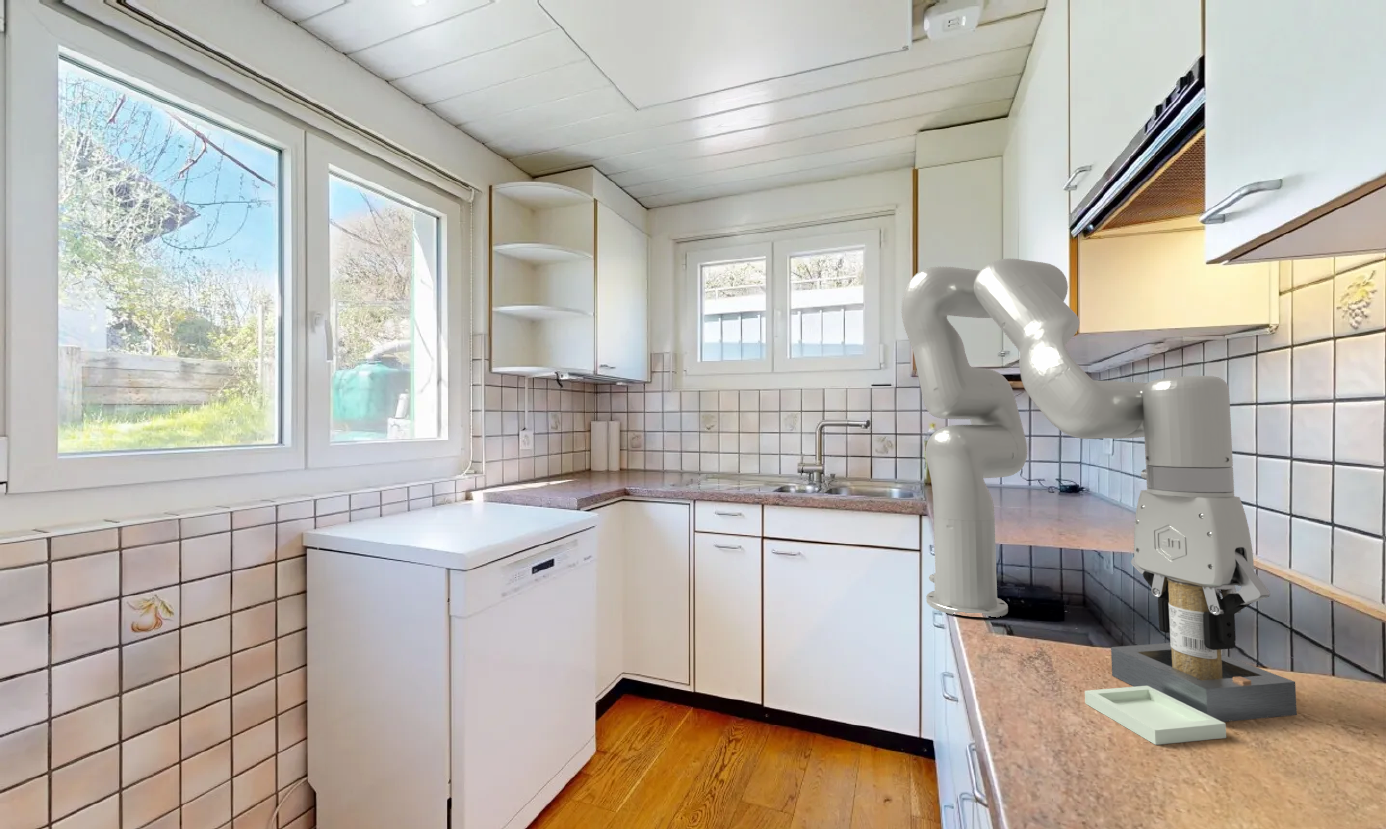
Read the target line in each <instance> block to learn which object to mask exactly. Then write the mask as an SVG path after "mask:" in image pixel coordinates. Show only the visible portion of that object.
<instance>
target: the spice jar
mask: <svg viewBox="0 0 1386 829" xmlns="http://www.w3.org/2000/svg"><path fill="white" fill-rule="evenodd" d="M1167 580H1168V588H1169V590H1168V591H1169V621H1170V633H1169V638H1170V640H1169V641H1170V642H1169V643H1170V644H1171V649H1172V667H1173V668H1175V669H1177V670H1180V671H1182V672H1184V673H1187V674H1189V675H1191V676H1194V677H1196V678H1198V679H1201V680H1214V679H1223V676H1222V659H1221V656H1222V655H1223V649H1221V650H1211V649H1209V648H1207V647H1206V646H1205V645H1204V626H1203V614H1204V612H1210V611H1209V608H1208V605H1207V601H1206V598H1205V594H1204V590H1203V587H1202V586H1199V585H1195V584H1191V583H1187V582H1183V581H1179V580H1176V579H1172V578H1167Z"/></svg>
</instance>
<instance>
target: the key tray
mask: <svg viewBox="0 0 1386 829" xmlns="http://www.w3.org/2000/svg"><path fill="white" fill-rule="evenodd" d="M1084 704H1086V705H1087V706H1089V707H1090V708H1092V709H1094V710H1096V711H1097V712H1099V713H1100V714H1102V715H1104V716H1106V717H1108V718H1109V719H1111V720H1112V721H1114V722H1116V723H1117V724H1119V725H1121V726H1123V727H1124V728H1126V729H1128V730H1130V731H1131V732H1133V733H1135V734H1136V735H1138V736H1139V737H1141V738H1143V739H1145V740H1146V741H1148V742H1151V743H1152V744H1154V745H1167V744H1168V745H1169V744H1176V743H1177V744H1178V743H1189V742H1198V741H1207V740H1208V741H1209V740H1217V739H1227V729H1226V728H1227V725H1226V723H1227V722H1221V721H1219V720H1217V719H1215V718H1213V717H1211V716H1209V715H1207V714H1205V713H1203V712H1201V711H1199V710H1197V709H1195V708H1193V707H1191V706H1188V705H1186V704H1184V703H1182V702H1180V701H1178V700H1176V699H1174V698H1172V697H1170V696H1168V695H1166V694H1164V693H1162V692H1160V691H1158V690H1156V689H1153V688H1151V687H1149V686H1136V687H1134V686H1126V687H1116V688H1115V687H1113V688H1100V689H1092V690H1091V689H1088V690H1084Z"/></svg>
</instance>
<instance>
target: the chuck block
mask: <svg viewBox="0 0 1386 829" xmlns="http://www.w3.org/2000/svg"><path fill="white" fill-rule="evenodd" d="M1110 655H1111V657H1110V658H1111V660H1110V661H1111V676H1112V677H1114V678H1116V679H1118V680H1120V681H1122V682H1124V683H1126V684H1129V686H1131V687H1136V686H1149V687H1151V688H1153V689H1156V690H1158V691H1160V692H1162V693H1164V694H1166V695H1168V696H1170V697H1172V698H1174V699H1176V700H1178V701H1180V702H1182V703H1184V704H1186V705H1188V706H1191V707H1193V708H1195V709H1197V710H1199V711H1201V712H1203V713H1205V714H1207V715H1209V716H1211V717H1213V718H1215V719H1217V720H1219V721H1221V722H1224V723H1228V722H1236V721H1245V720H1259V719H1267V718H1268V719H1270V718H1277V717H1278V718H1279V717H1280V718H1281V717H1289V716H1297V715H1298V714H1297V710H1298V709H1297V694H1296V693H1297V691H1296V690H1297V689H1296V686H1297V685H1296V681H1294V680H1291V679H1289V678H1285V677H1283V676H1281V675H1277V674H1276V673H1273V672H1270V671H1267V670H1265V669H1262V668H1259V667H1256V666H1254V665H1251V664H1249V663H1246V662H1243V661H1240V660H1238V659H1235V658H1233V657H1231V656H1227V655H1225V654H1222V656H1221V659H1222V676H1223V679H1214V680H1201V679H1198V678H1196V677H1194V676H1191V675H1189V674H1187V673H1184V672H1182V671H1180V670H1177V669H1175V668H1173V667H1172V649H1171V644H1170V642H1164V643H1152V644H1138V645H1136V644H1135V645H1121V646H1112V647H1110Z"/></svg>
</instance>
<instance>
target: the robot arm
mask: <svg viewBox="0 0 1386 829" xmlns="http://www.w3.org/2000/svg"><path fill="white" fill-rule="evenodd" d="M1068 284H1069V283H1068V280H1067V278H1066V275H1065V274H1064V272H1063V271H1062V270H1061V269H1060V268H1058V266H1055V265H1053V264H1051V263H1048V262H1042V261H1035V260H1026V259H1019V258H1002V259H997V260H994V261H992V262H989V263H988V264H986V265H985V266H984V267H982V269H980V270H979V269H969V268H962V267H956V266H933V267H928V268H924V269H922V270H920V271H919V272H917V273H915V275H914V276H913V277H911V279H910V280H909V281H908V283H907V285H906V288H905V290H904V292H903V296H902V301H901V317H902V322H903V327H904V330H905V333H906V336H907V338H908V340H909V344H910V346H911V349H912V353H913V357H914V363H915V367H916V372H917V377H918V382H919V386H920V391H921V396H922V399H923V403H924V406H925V408H926V411H927V412H928V413H929V414H930V416H932V417H935V418H938V419H941V420H970V424H954V425H947V426H943V427H942V428H939V429H937V430H936V431H934V432H933V433H932V434H931V436H929V439H928V440H927V442H926V446H925V458H926V464H927V468H928V471H929V477H930V483H931V492H932V505H933V507H932V509H933V527H934V528H933V534H934V535H933V536H934V571H935V572H934V573H933V574H930V575H929V576H928V579H929V581H930V582H931V583H934V590H933V591H930V592H928V593H927V594H926V595H925V596H926V598H925V599H926V603H927V605H929V607H931V608H932V609H934V610H936V611H939V612H942V613H945V614H947V615H948V614H949V615H953V613H954V612H965V613H983V614H985V615H987V616H991V617H996V618H1001V617H1003V616H1006V615H1007V614H1008V612H1009V606H1008V604H1007V603H1006V602H1005V601H1004V600H1002V599H1001V598H998V590H997V589H998V588H997V586H998V585H997V584H998V583H997V579H998V578H997V551H996V549H997V548H996V519H995V518H996V517H995V505H994V500H993V498H992V495H991V492H990V490H989V488H988V487H987V484H986V482H985V479H995V478H996V479H997V478H1005V477H1011V476H1013V475H1015V474H1018V473H1019V472H1020V471H1021V470H1022V469H1023V467H1024V466H1025V465H1026V462H1027V459H1028V446H1027V445H1028V443H1027V440H1026V434H1025V431H1024V428H1023V424H1022V419H1021V416H1020V415H1021V414H1020V411H1019V409H1018V404H1017V400H1016V397H1015V396H1016V395H1015V394H1014V390H1013V388H1012V386H1011V384H1010V382H1009V381H1008V379H1006V377H1005V376H1004V375H1003V374H1001V373H1000V372H998V371H996V370H993V369H990V368H984V367H982V368H981V367H980V368H979V367H973V366H971V365H970V363H969V360H968V357H967V354H966V350H965V345H964V342H963V340H962V337H961V335H960V334H959V333H958V331H957V329H956V328H955V327H954V325H952V323H951V322H950V321H949V319H948V316H950V317H962V318H964V317H965V318H975V319H992V321H994V322H995V323H996V325H998V327H999V328H1000V329H1001V330H1002V332H1003V333H1004V334H1005V335H1006V336H1007V338H1008V339H1009V340H1010V342H1012V344H1013V345H1014V346H1015V348H1016V349H1017V350H1018V351H1019V353H1020V354H1019V362H1018V364H1019V373H1020V379H1021V382H1022V385H1023V388H1024V390H1025V391H1026V393H1027V395H1028V396H1029V398H1030V399H1031V400H1032V401H1033V402H1034V403H1033V404H1035V405H1036V407H1037V408H1038V409H1039V411H1041V413H1042V414H1043V416H1044V417H1045V418H1046V419H1047V420H1048V421H1049V422H1050V423H1051V424H1052V425H1053V426H1054V427H1055V428H1056V429H1058V430H1059V431H1061V432H1062V433H1064V434H1066V435H1068V436H1069V437H1073V438H1076V439H1081V440H1084V439H1085V440H1094V439H1095V440H1097V439H1098V440H1099V439H1113V440H1115V439H1116V440H1117V439H1118V440H1119V439H1137V438H1139V439H1140V438H1144V456H1145V468H1144V469H1143V470H1142V471H1141V472H1140V476H1141V478H1142V479H1143V480H1146V489H1143V490H1140V493H1139V496H1138V500H1137V504H1136V508H1135V509H1136V510H1135V517H1134V518H1135V520H1134V531H1133V557H1132V559H1131V560H1130V564H1131V565H1132V567H1134V569H1136V570H1137V571H1138V573H1139V574H1140V575H1142V577H1143V579H1144V580H1145V582H1147V584H1148V585H1149V586H1150V588H1151V593H1152V595H1153V596H1154V597H1156V598H1157V609H1158V610H1157V612H1158V613H1157V614H1158V630H1159V631H1161V632H1162V633H1165V634H1167V633H1169V634H1170V621H1169V591H1168V590H1169V588H1168V580H1167V578H1172V579H1176V580H1179V581H1183V582H1187V583H1191V584H1195V585H1199V586H1202V587H1203V590H1204V594H1205V598H1206V601H1207V605H1208V608H1209V611H1210V612H1204V614H1203V626H1204V645H1205V646H1206V647H1207V648H1209V649H1211V650H1221V649H1222V650H1230V649H1232V650H1233V649H1234V648H1235V647H1236V639H1237V638H1236V637H1237V636H1236V619H1235V615H1236V614H1240V613H1242V610H1243V609H1245V608H1246V607H1248V606H1250V605H1252V604H1253V603H1256V602H1260V601H1262V600H1263V599H1268V598H1269V597H1270V595H1271V593H1270V591H1269V589H1268V588H1267V586H1266V585H1265V584H1264V583H1263V581H1262V580H1261V579H1260V577H1259V576H1258V574H1257V573H1256V571H1255V565H1254V564H1255V563H1254V553H1253V546H1252V539H1251V534H1250V528H1249V524H1248V519H1247V516H1246V515H1247V514H1246V513H1245V508H1244V506H1243V503H1242V501H1241V497H1240V496H1235V484H1234V483H1235V482H1234V480H1235V478H1234V468H1233V465H1234V462H1233V461H1234V460H1233V442H1232V441H1233V440H1232V424H1231V421H1232V420H1231V404H1230V403H1231V401H1230V390H1229V389H1230V388H1229V385H1228V383H1227V382H1226V381H1225V380H1224V379H1223V378H1221V377H1217V376H1213V375H1189V376H1186V375H1185V376H1172V377H1171V376H1169V377H1163V378H1157V379H1154V380H1151V381H1149V382H1141V381H1140V382H1137V381H1135V382H1134V381H1119V380H1118V381H1117V380H1093V378H1091V377H1090V376H1089V375H1088V373H1086V371H1085V370H1083V369H1082V368H1081V366H1080V365H1079V364H1078V363H1077V362H1076V361H1075V359H1074V358H1073V357H1072V355H1071V354H1070V353H1069V351H1068V349H1067V348H1066V345H1067V344H1068V343H1069V342H1070V341H1071V340H1072V339H1073V338H1074V336H1075V335H1076V333H1077V332H1078V331H1079V328H1080V319H1079V317H1078V315H1077V314H1076V313H1075V311H1073V310H1072V309H1071V307H1070V306H1068V305H1067V304H1066V303H1065V302H1064V301H1065V300H1066V298H1067V295H1068V291H1069V290H1068V288H1069V286H1068ZM1236 586H1237V587H1238V586H1239V587H1241V588H1240V590H1237V587H1236ZM1221 595H1222V598H1221ZM953 616H954V615H953ZM1000 616H1001V617H1000Z"/></svg>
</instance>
